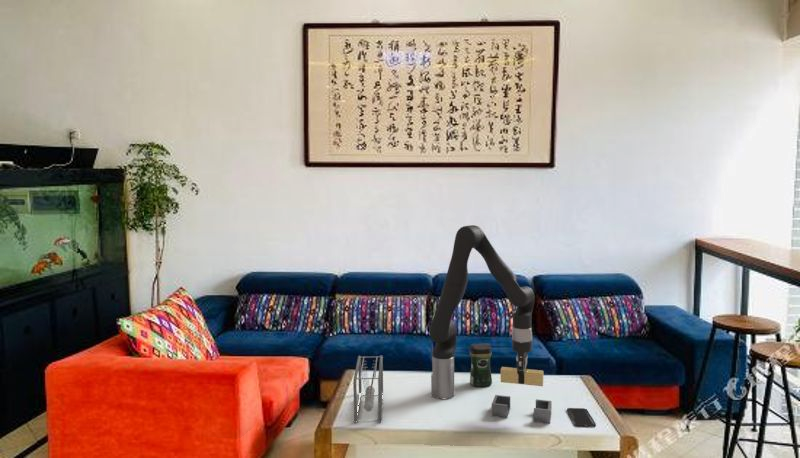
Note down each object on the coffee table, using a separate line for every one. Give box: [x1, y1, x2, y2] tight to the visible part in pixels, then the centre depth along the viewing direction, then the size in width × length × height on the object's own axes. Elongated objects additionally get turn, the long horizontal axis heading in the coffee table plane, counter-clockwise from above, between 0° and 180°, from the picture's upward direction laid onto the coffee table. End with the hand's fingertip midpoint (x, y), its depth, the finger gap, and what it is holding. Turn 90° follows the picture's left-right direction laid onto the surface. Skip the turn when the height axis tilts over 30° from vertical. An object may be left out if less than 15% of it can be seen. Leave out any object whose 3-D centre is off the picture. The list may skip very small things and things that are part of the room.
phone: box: [566, 407, 597, 428], centre depth 217 cm, size 8×1×15 cm
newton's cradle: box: [352, 355, 384, 423], centre depth 228 cm, size 30×10×18 cm, turn 1°
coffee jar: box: [469, 342, 493, 388], centre depth 252 cm, size 10×8×19 cm
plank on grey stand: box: [491, 394, 553, 424], centre depth 220 cm, size 22×10×5 cm, turn 72°
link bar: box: [500, 366, 544, 387], centre depth 219 cm, size 16×4×5 cm, turn 72°
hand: (521, 381), depth 219 cm, fingers closed on link bar, 3 cm apart
